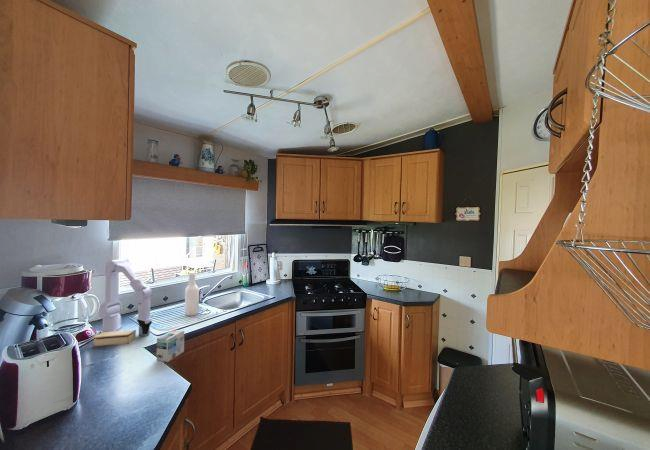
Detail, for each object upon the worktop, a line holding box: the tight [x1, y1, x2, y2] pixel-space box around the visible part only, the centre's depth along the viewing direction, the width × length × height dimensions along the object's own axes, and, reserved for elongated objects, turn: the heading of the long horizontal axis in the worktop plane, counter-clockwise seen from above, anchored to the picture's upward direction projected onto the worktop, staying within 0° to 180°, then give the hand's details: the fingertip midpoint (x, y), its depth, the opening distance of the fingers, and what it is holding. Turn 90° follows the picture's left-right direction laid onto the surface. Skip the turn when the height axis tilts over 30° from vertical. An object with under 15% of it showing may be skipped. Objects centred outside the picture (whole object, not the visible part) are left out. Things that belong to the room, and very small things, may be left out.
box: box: [92, 330, 137, 347], centre depth 139 cm, size 8×16×4 cm, turn 103°
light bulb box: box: [156, 329, 185, 363], centre depth 124 cm, size 11×7×11 cm, turn 168°
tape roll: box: [138, 326, 151, 338], centre depth 147 cm, size 5×5×5 cm
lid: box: [93, 329, 137, 339], centre depth 139 cm, size 8×16×1 cm, turn 103°
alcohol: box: [184, 271, 200, 317], centre depth 181 cm, size 9×9×30 cm
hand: (144, 332), depth 147 cm, fingers closed on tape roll, 5 cm apart
